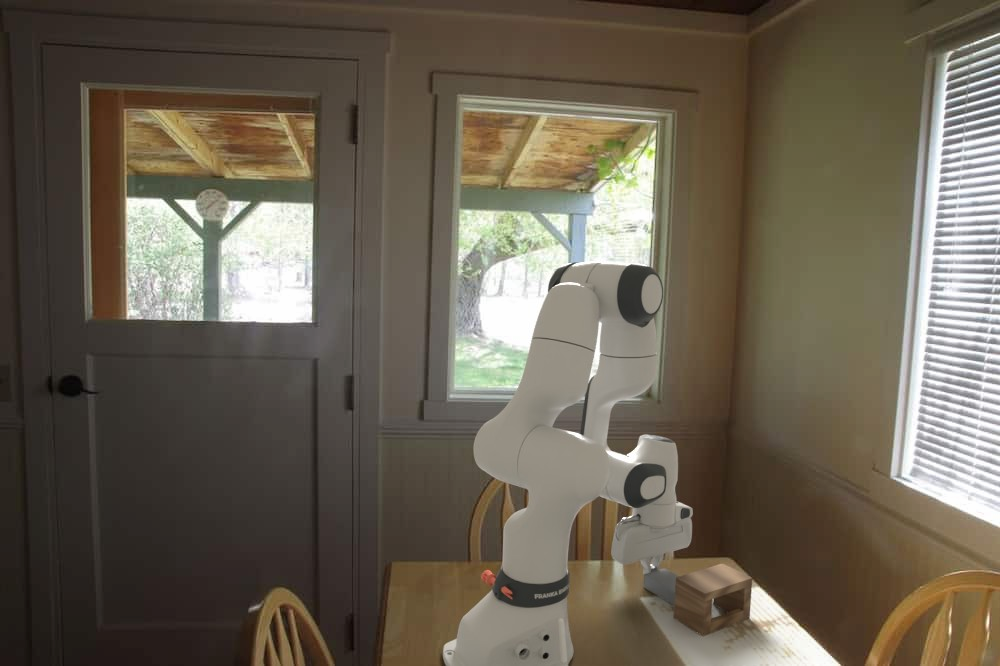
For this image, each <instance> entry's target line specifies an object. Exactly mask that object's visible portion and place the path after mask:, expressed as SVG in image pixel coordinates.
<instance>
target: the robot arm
mask: <svg viewBox="0 0 1000 666" xmlns="http://www.w3.org/2000/svg"><path fill="white" fill-rule="evenodd" d="M663 299H664V287H663V282H662V279H661V277H660V275H659V274H658V273H657V271H656V270H655V269H654V268H653V267H652V266H649V265H645V264H643V263H642V264H641V263H636V262H633V263H626V262H625V263H624V262H623V263H622V262H613V261H610V262H609V261H607V260H606V261H605V260H598V261H587V262H578V261H577V262H575V261H574V262H570V263H566V264H563V265H560V266H559V267H557V269H555V271H554V272H553V274H552V275H551V277H550V279H549V282H548V286H547V294H546V295H545V298H544V301H543V303H542V304H541V308H540V310H539V312H538V315H537V320H536V321H535V325H534V330H533V334H532V336H531V340H530V341H531V342H530V346H529V350H528V354H527V358H526V362H525V365H524V369H523V372H522V376H521V380H520V382H519V384H518V387H517V389H516V391H514V394H513V396H512V397H511V399H510V400H509V402H508V403H507V405H506V406H505V407H504V408H503V409H502V410H501V411H500V412H499V413H498V414H497V415H495V416H494V417H493V418H492V419H489V420H488V421H486V422H485V423H483V425H482V426H480V429H479V430H477V431H478V432H477V433H476V435H475V438H474V442H473V451H472V452H473V458H474V461H475V463H476V465H477V466H478V468H480V469H481V470H482V471H483V472H485V473H487V474H488V475H490V476H491V477H493V478H494V479H497V480H498V481H500V482H503V483H506V484H510V485H513V486H517V487H519V488H523V489H525V490H527V491H528V503H527V506H526V507H525V508H522V509H520V510H518V511H515V512H514V513H512V514H511V515H510V517H508V519H507V520H506V522H505V523H504V527H503V533H502V534H503V535H502V537H503V538H502V539H503V540H502V563H501V565H500V567H499V570H498V572H497V573H496V574H497V575H496V574H494V573H493V572H492V571H491V570H489V569H486V570H484V571H483V572H482V573H481V577H480V578H481V581H483V582H484V583H485V584H486V585H487V586H492V589H491V590H490V591H489V592H488V593H487V594H486V595H485V596H484V597H482V599H481V600H480V601H479V602H478V603H477V604H476V605H474V606H473V607H472V608H471V609H470V610H469V611H468V612H467V613H466V614H465V615H463V616H462V618H461V620H460V622H459V625H458V629H457V635H456V638H455V639H453V640H450V641H448V642H446V643H445V644H444V645H443V647H442V649H443V650H442V659H443V663H444V664H445V666H569V664H570V661H571V660H572V658H573V657H574V653H575V652H574V645H573V643H572V638H571V632H570V626H569V616H568V599H567V597H568V595H569V593H570V570H569V567H568V563H569V562H568V558H569V546H570V537H571V536H570V535H571V530H572V527H573V523H574V521H575V518H576V517H577V515H578V513H580V510H582V508H584V507H585V506H587V504H589V503H591V502H593V501H595V500H596V499H597V498H599V497H601V498H603V499H606V500H608V501H611V502H614V503H618V504H621V505H622V506H626V507H629V508H632V514H631V515H630V516H626V517H622V518H620V521H618V523H617V524H616V525H615V529H614V533H613V538H612V543H611V550H610V552H611V553H610V556H611V557H612V559H613V560H614V561H616V562H617V563H619V564H620V565H623V566H625V565H630V564H632V563H637V562H639V561H640V563H641V566H642V574H643V575H644V574H647V573H650V572H653V571H657V570H660V569H659V568H660V566H661V564H662V562H663V560H664V557H665V555H664V554H668V553H672V552H674V551H676V552H677V551H678V550H681V549H685V548H688V547H689V546H690V544H691V542H692V537H693V535H692V534H693V522H692V517H693V514H694V513H693V509H694V508H693V507H691V506H689V505H686V504H684V503H683V502H679V501H677V494H676V485H677V482H678V476H679V474H678V473H679V455H678V449H677V445H676V442H675V441H673V440H672V439H671V438H668V437H663V436H661V435H655V434H646V433H645V434H642V435H640V436H639V437H638V442H637V445H636V447H635V448H634V449H633V450H632V451H631V452H629V453H627V454H624V453H623V454H622V453H619V452H616V451H612V450H611V448H610V447H609V446H608V441H607V439H608V433H609V425H610V419H611V412H612V409H613V407H614V406H615V404H617V403H618V402H620V401H624V400H627V399H632V398H636V397H637V396H640V395H642V394H644V393H645V392H646V391H647V390H649V389H650V388H651V386H652V385H653V383H654V382H655V380H656V376H657V371H658V340H657V337H658V336H657V328H656V322H655V317H656V316H657V314H658V312H659V311H660V308H661V306H662V304H663ZM600 323H601V325H600ZM599 326H600V335H599ZM598 335H599V360H598V367H597V370H596V373H595V374H594V375H593V376H592V377H591V373H592V372H591V371H592V368H593V363H594V359H595V353H596V349H597V342H598ZM590 377H591V378H590ZM583 398H584V401H583V409H582V416H581V417H582V418H581V424H580V432H576V431H575V432H574V431H572V430H571V431H570V430H566V429H561V428H557V427H553V426H554V423H555V421H556V419H557V418H558V416H559V415H560V414H561V413H562V411H564V410H565V409H566V408H568V407H571V406H573V405H575V404H578V403H579V402H581V400H583Z"/></svg>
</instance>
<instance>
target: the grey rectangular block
mask: <svg viewBox="0 0 1000 666" xmlns="http://www.w3.org/2000/svg"><path fill="white" fill-rule="evenodd" d="M679 576H680V575H678V574H676V573H674V572H673V571H671V570H669V569H667V568H665V567H663V568H660V569H659V570H657V571H653V572H650V573H647V574H643V582H642V583H643V585H642V586H643V588H644V589H646V590H647V591H650V592H651V593H653V594H654V595H656V596H658V597H659V598H661V599H663V600H664V601H666V602H668V603H669V604H671V605H673V606H674V604H675V586H676V577H679Z"/></svg>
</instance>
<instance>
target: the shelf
mask: <svg viewBox="0 0 1000 666" xmlns="http://www.w3.org/2000/svg"><path fill="white" fill-rule="evenodd" d="M678 576H679V577H676V586H675V604H674V605H673V606H674V608H673V618H674V620H676V621H678V622H679V623H681V624H683V626H686V627H687V628H689V629H690V630H692V631H693V632H695V633H696V634H698V635H700V636H702V637H704V636H706V635H710V634H712V633H715V632H718V631H721V630H723V629H725V628H727V627H729V626H734V625H735V624H738V623H741V622H744V621H746V620H748V619H751V604H752V602H751V601H752V586H753V577H751V576H750V575H747V574H745V573H744V572H741V571H739V570H737V569H735V568H733V567H730V566H729V565H726V564H725V563H719V564H716V565H713V566H710V567H706V568H703V569H700V570H696V571H693V572H690V573H686V574H684V575H678ZM713 605H714V606H716V607H717V608H719V609H721V610H723V611H725V613H722V614H720V615H717V616H714V617H712V613H713V611H712V609H713Z"/></svg>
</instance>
